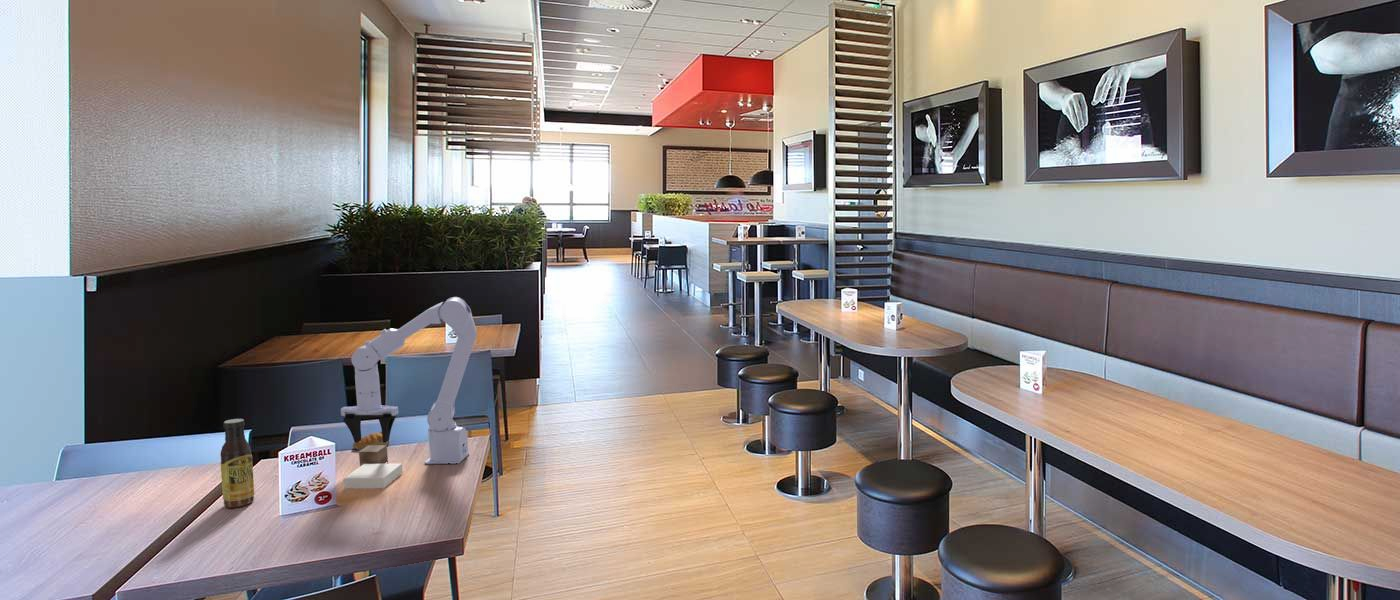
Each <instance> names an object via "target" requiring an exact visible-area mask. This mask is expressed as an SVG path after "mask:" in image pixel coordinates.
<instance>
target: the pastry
mask: <svg viewBox="0 0 1400 600" xmlns="http://www.w3.org/2000/svg"><path fill="white" fill-rule="evenodd" d="M389 444H390V440H389V441H387V442H386V443H383V440H382V430H381V431H380V432H372V433H369V434H367V435H365V436H364V437H361V441H359V442H357V443H355V442H353V443H352V448H353V449H354V450H358V451H361V450H362V449H364V448H365V447H367V446H368V445H387V446H389Z"/></svg>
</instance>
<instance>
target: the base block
mask: <svg viewBox="0 0 1400 600" xmlns="http://www.w3.org/2000/svg"><path fill="white" fill-rule="evenodd" d="M403 471H404V470H403V463H387V464H363V465H362V466H360V465H359V467H358V468H356V469H354V470H353V471H352V472H350V473H349V474H348V475H346V476H345V477H343V486H344V487H343V488H344V489H386V488H387V486H389V485H390V484H391V483H392V481H393V480H394V481H395V480H396V479H397V478H399V477H400V476H401V475H402V474H403V473H404V472H403ZM401 473H402V474H401ZM400 474H401V475H400ZM399 475H400V476H399ZM398 476H399V477H398ZM394 481H393V482H394Z"/></svg>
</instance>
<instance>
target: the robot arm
mask: <svg viewBox="0 0 1400 600" xmlns="http://www.w3.org/2000/svg"><path fill="white" fill-rule="evenodd" d="M442 322H444V323H445V325H447V326H449V327H450V328H451V329H452V331H453V332H454V334H455V335H456V336H457V339H456V342H455V346H454V348H453V351H452V353H451V358H450V359H449V364H448V365H447V370H446V372H445V375H444V378H443V381H442V385H441V388H440V391H439V394H438V396H437V399H436V401H434V403H433V404H432V405H431V408H430V411H429V412H428V414H427V418H426V420H427V424H428V427H427V429H428V446H429V456H430V457H429V458H427V459H426V460H424V464H425V465H430V464H432V465H433V464H434V465H436V464H437V465H438V464H439V465H440V464H442V465H443V464H444V465H445V464H447V465H449V464H448V463H450V464H451V465H453V464H454V465H455V464H456V463H457V464H460V463H461V462H463V460H464V459H465V458H466V457H468V456H469V454H470V452H469V446H468V445H469V444H468V433H467V428H466V427H463V426H459V425H457V422H456V421H455V420H454V419H453V417H454V415H455V413H456V406H455V402H456V399H457V396H458V393H459V389H460V387H461V383H462V380H463V377H464V375H465V371H466V368H467V366H468V362H469V360H470V357H471V354H472V351H473V347H474V344H475V341H476V338H477V334H478V331H477V327H476V324H475V321H474V318H473V314H472V309H471V308H470V305H468V304H467V302H466V301H465V299H463V298H461V297H458V296H453V297H449V298H447V299H446V301H442V302H441V301H440V303H437V304H435V305H433V306H431V307H429V308H428V309H426V310H424V311H423V312H422V313H420V314H418V315H417V316H416V317H414V318H413V319H411V320H410V321H408V322H407V323H405V324H404V325H402V326H401V327H400V328H392V327H391V328H389V329H386V328H384V329H383V330H381V331H380V334H379V335H378V336H376V337H375V338H373V339H371V340H369V339H368V340H366V341H365V342H364V345H361V346H359V347H358V348H357V349H356V350H355V351H354V352H353V353H352V356H351V358H350V359H351V364H352V366H353V368H354V380H355V382H354V383H355V396H356V405H353V406H343V407H341V408H340V416H341V417H344V418H343V420H342V421H343V423H344V424H345V425H346V427H347V428H348V430H349V432H350V433H351V436H352V438H353V439H352V440H353V441H354V442H355V443H357V442H359V441H361V438H362V430H361V427H362V426H361V424H362V423H361V422H362V416H380V417H379V418H378V421H379V424H380V428H381V431H382V440H383V443H386V442H387V441H389V442H390V438H391V437H390V436H391V431H392V428H393V425H394V422H395V420H396V418H397V415H398V414H399V412H400V411H399V406H394V405H393V406H392V405H382V397H381V385H380V375H379V374H380V373H379V368H378V367H379V366H378V362H379V361H380V360H384V359H385V358H387V357H389V356H391V355H392V354H394V353H396V352H397V351H398V350H400V349H401V348H403V347H404V345H405V341H406V339H407V338H409V337H410V336H413V335H414V334H416V333H418V332H419V331H421V330H422V329H424V328H426V327H428V326H430V325H431V324H432V325H434V324H436V325H437V324H439V325H440V324H443V323H442ZM354 442H353V443H354Z"/></svg>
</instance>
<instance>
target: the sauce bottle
mask: <svg viewBox="0 0 1400 600" xmlns="http://www.w3.org/2000/svg"><path fill="white" fill-rule="evenodd" d="M223 429H224V433H225V434H224V437H225V438H224V441H225V442H224V444H223V445H222V447H221V450H220V475H221V488H222V489H221V491H222V500H223V505H224V507H225V508H228V509H232V508H233V509H234V508H240V507H241V508H242V507H245V506H247V505H249V504H251V503H253V502H254V499H255V497H254V496H255V484H254V469H253V468H254V467H253V455H252V449H251V446H250V443H249V442H248V441H247V439H246V435H245V419H243V418H233V419H227V420H225V421H224V422H223Z"/></svg>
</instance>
